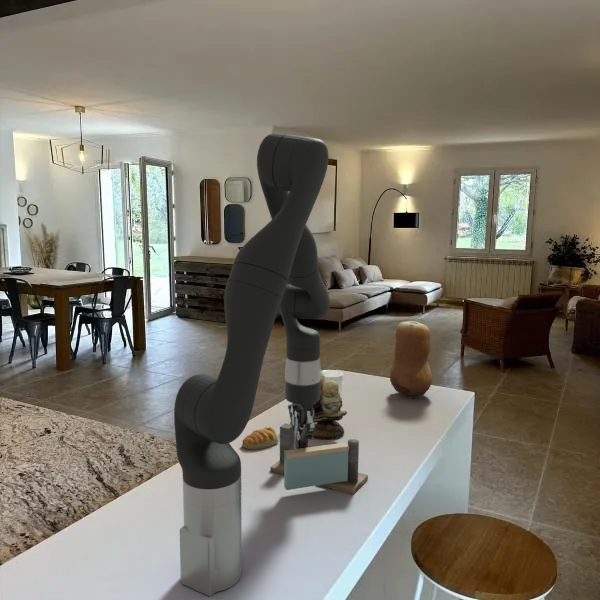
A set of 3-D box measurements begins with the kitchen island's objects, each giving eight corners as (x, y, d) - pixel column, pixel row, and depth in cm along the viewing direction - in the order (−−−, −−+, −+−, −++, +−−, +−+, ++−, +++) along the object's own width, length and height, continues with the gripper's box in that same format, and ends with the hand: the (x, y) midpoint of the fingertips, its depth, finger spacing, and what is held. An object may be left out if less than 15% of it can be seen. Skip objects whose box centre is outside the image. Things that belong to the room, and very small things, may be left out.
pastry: (252, 454, 136) (252, 439, 136) (236, 446, 141) (235, 432, 141) (280, 444, 143) (280, 430, 142) (264, 436, 148) (264, 423, 147)
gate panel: (348, 481, 119) (348, 446, 118) (286, 490, 115) (286, 454, 113) (344, 476, 121) (345, 442, 120) (283, 486, 117) (284, 450, 115)
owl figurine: (356, 432, 151) (358, 372, 148) (331, 445, 142) (332, 382, 139) (306, 416, 162) (307, 360, 160) (279, 427, 153) (280, 369, 151)
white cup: (314, 406, 171) (315, 375, 169) (321, 398, 178) (321, 368, 177) (339, 409, 169) (340, 377, 167) (344, 401, 176) (345, 371, 175)
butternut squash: (436, 394, 184) (440, 321, 180) (423, 405, 173) (426, 327, 169) (397, 387, 191) (400, 316, 188) (382, 397, 180) (384, 322, 176)
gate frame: (352, 494, 116) (354, 449, 115) (270, 471, 127) (270, 429, 125) (367, 479, 123) (369, 437, 122) (288, 458, 134) (288, 419, 132)
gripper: (331, 386, 111) (329, 465, 114) (308, 367, 123) (307, 439, 127) (296, 389, 109) (295, 470, 112) (276, 370, 121) (276, 443, 124)
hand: (301, 453), depth 119 cm, fingers closed
